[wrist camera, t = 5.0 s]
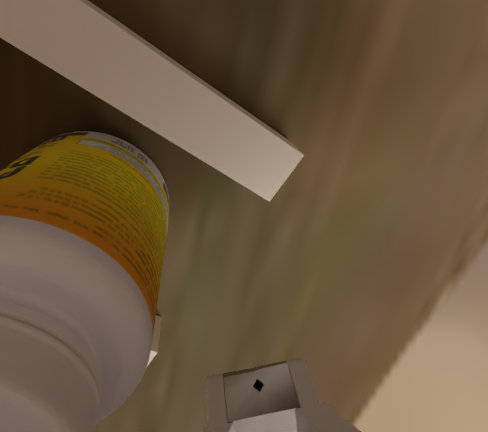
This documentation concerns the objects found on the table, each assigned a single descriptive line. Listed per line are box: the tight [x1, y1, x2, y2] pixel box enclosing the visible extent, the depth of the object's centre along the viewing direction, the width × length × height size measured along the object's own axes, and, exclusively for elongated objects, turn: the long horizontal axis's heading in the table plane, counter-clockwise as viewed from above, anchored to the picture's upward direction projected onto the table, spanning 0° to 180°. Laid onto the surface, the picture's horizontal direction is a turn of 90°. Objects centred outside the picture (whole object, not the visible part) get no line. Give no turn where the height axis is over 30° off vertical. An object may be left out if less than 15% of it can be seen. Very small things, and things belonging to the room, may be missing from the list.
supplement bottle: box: [0, 131, 170, 432], centre depth 10 cm, size 6×6×10 cm
